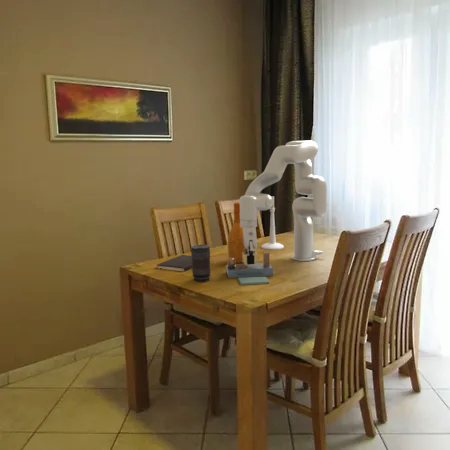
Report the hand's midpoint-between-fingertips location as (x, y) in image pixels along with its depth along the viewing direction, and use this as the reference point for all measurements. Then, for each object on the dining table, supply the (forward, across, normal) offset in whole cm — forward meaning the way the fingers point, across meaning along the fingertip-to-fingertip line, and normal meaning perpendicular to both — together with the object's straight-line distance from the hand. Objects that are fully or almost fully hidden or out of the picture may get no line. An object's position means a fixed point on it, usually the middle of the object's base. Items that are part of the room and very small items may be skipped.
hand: (249, 262), depth 202 cm
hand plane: (+5, 0, 0) cm, 5 cm away
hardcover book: (+6, +23, +30) cm, 38 cm away
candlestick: (+7, +54, -22) cm, 58 cm away
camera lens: (+5, -6, +22) cm, 24 cm away
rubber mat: (+5, -13, 0) cm, 14 cm away
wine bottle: (+6, +24, +2) cm, 24 cm away
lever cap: (0, 0, 0) cm, 0 cm away
